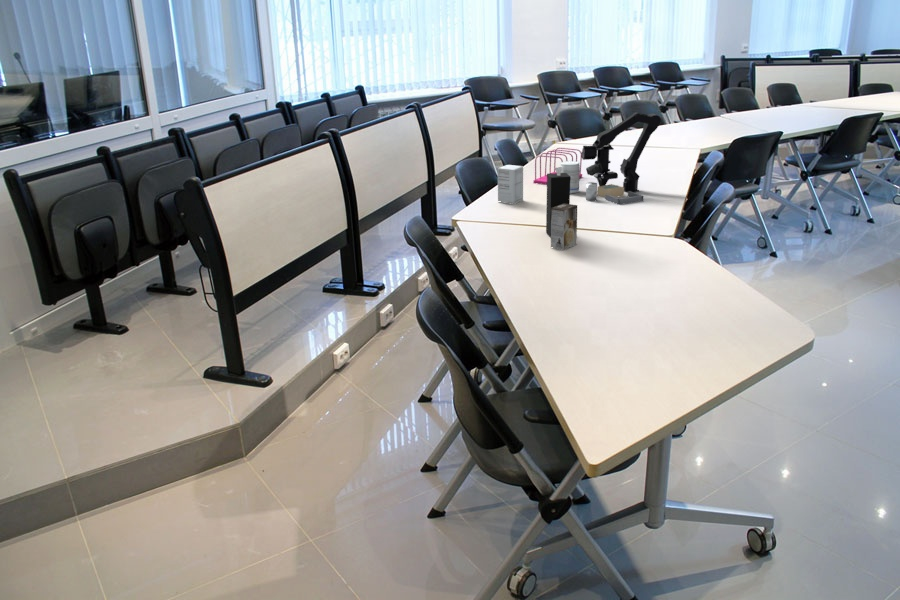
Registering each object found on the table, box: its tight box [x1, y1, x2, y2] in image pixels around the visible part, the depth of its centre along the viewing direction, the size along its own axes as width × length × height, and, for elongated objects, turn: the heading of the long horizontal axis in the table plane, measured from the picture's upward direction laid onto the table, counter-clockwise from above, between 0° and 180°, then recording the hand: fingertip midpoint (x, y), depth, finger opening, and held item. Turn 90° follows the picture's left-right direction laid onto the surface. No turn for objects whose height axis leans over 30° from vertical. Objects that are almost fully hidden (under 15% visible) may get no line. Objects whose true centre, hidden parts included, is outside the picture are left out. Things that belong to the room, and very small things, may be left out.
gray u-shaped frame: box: [604, 191, 644, 205], centre depth 347 cm, size 14×11×2 cm
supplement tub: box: [560, 160, 580, 194], centre depth 365 cm, size 10×10×15 cm
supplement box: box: [497, 164, 524, 205], centre depth 350 cm, size 10×9×17 cm
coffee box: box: [550, 203, 578, 251], centre depth 280 cm, size 9×6×16 cm
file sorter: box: [532, 147, 583, 185], centre depth 390 cm, size 17×25×16 cm
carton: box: [597, 183, 625, 198], centre depth 357 cm, size 9×9×5 cm
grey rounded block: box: [585, 181, 598, 202], centre depth 349 cm, size 5×5×8 cm
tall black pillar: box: [545, 166, 571, 238], centre depth 293 cm, size 8×8×28 cm
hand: (601, 189), depth 364 cm, fingers closed
